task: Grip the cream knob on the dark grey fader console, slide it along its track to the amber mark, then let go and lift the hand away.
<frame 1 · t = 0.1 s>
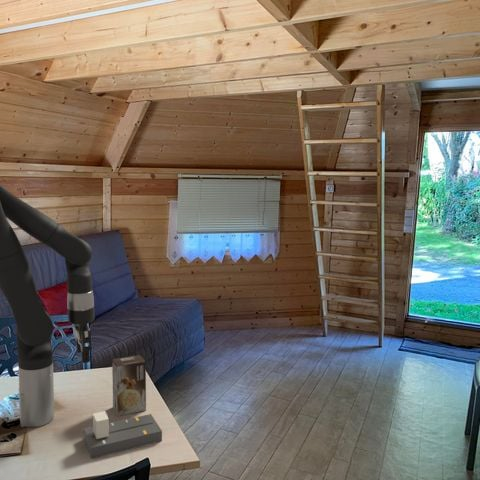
hand: (83, 357, 142), 17 cm above the table, tool pointing down, fingers open, 8 cm apart
coffee box: (129, 409, 146), on the table
fader console: (123, 439, 129), on the table
fader knob: (100, 424, 126), point 6 cm above the table, slide at 0.0 cm
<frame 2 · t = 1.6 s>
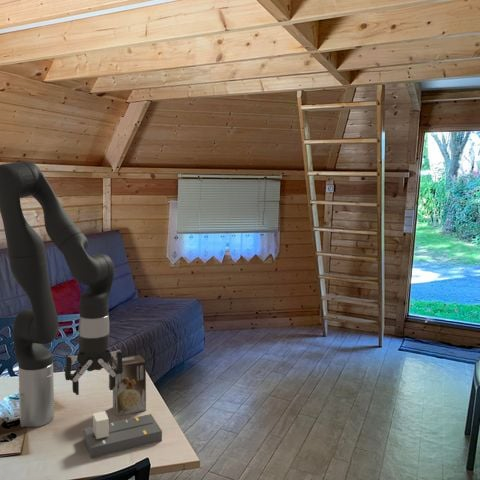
hand: (94, 391, 122), 16 cm above the table, tool pointing down, fingers open, 8 cm apart
nothing on the table moved.
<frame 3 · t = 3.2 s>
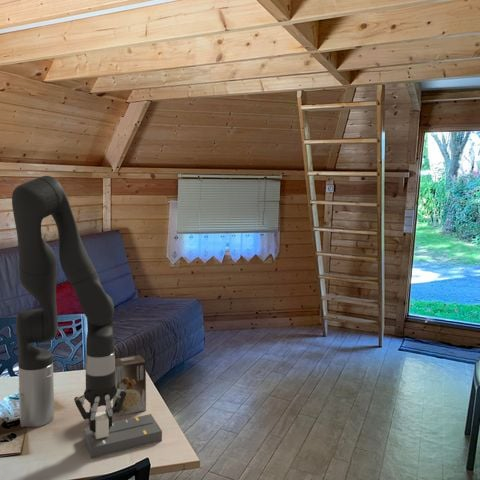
hand: (100, 429, 126), 5 cm above the table, tool pointing down, fingers closed on fader knob, 3 cm apart
fader knob: (100, 424, 126), point 6 cm above the table, slide at 0.0 cm, touching gripper
everything else where it was.
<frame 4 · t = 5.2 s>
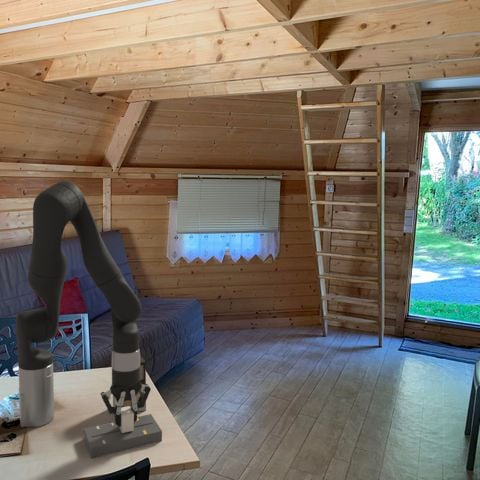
hand: (125, 423, 129), 5 cm above the table, tool pointing down, fingers closed on fader knob, 3 cm apart
fader knob: (125, 419, 129), point 6 cm above the table, slide at 6.8 cm, touching gripper
everything else where it was.
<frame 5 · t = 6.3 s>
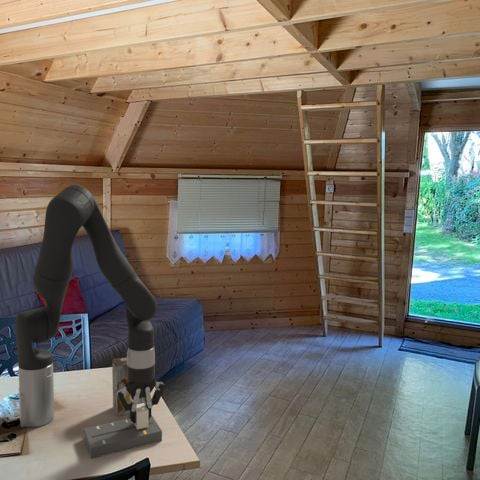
hand: (140, 420, 131), 5 cm above the table, tool pointing down, fingers closed on fader knob, 3 cm apart
fader knob: (140, 416, 131), point 6 cm above the table, slide at 10.9 cm, touching gripper
everything else where it was.
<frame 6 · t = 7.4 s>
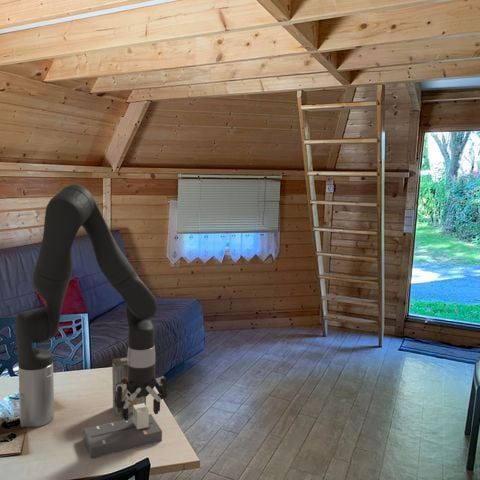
hand: (141, 416, 131), 6 cm above the table, tool pointing down, fingers open, 8 cm apart
fader knob: (140, 416, 131), point 6 cm above the table, slide at 10.9 cm
everything else where it was.
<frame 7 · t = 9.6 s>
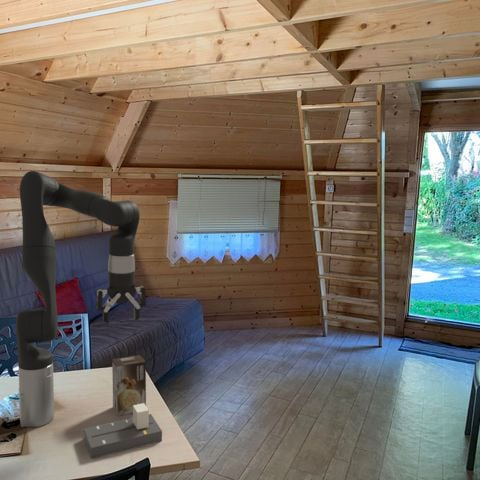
hand: (121, 321, 140), 29 cm above the table, tool pointing down, fingers open, 8 cm apart
nothing on the table moved.
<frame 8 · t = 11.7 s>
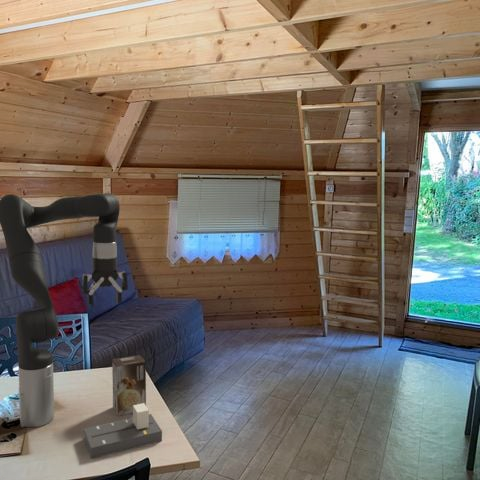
hand: (105, 304, 153), 30 cm above the table, tool pointing down, fingers open, 8 cm apart
nothing on the table moved.
at the end: fader knob slide at 10.9 cm; the gripper is holding nothing; coffee box moved 0.2 cm from its start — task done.
